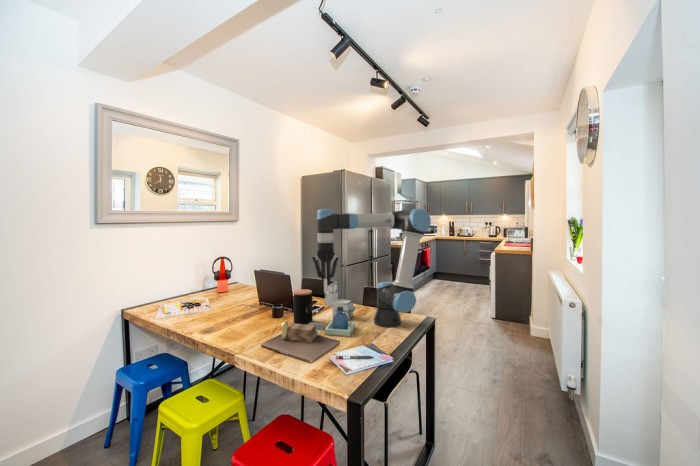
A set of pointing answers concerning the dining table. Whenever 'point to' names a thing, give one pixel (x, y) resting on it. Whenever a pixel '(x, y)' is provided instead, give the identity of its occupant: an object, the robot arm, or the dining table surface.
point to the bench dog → (284, 330)
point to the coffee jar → (302, 306)
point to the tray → (338, 332)
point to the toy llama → (338, 301)
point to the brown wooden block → (302, 332)
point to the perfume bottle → (340, 320)
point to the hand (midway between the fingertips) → (326, 292)
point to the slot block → (317, 326)
